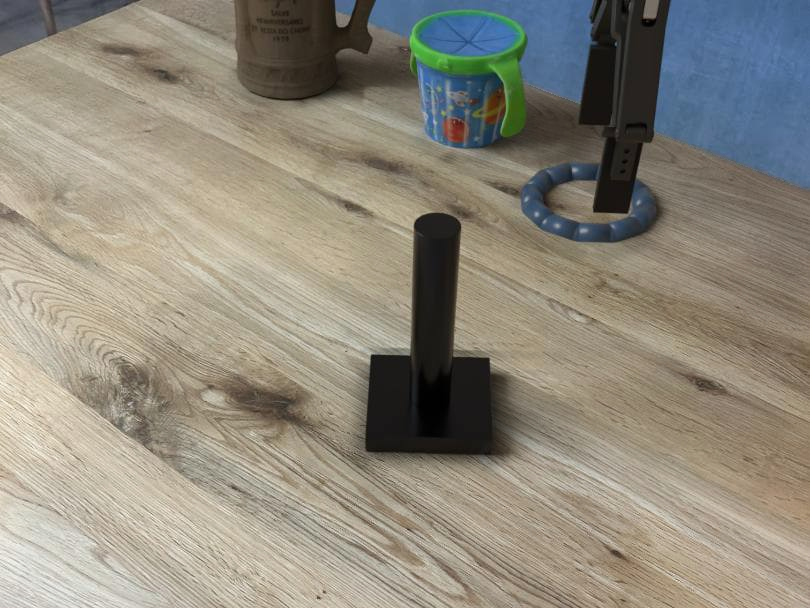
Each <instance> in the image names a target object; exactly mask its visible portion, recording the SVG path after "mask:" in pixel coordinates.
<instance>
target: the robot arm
mask: <svg viewBox="0 0 810 608" xmlns="http://www.w3.org/2000/svg"><path fill="white" fill-rule="evenodd" d="M671 3H672V0H593V3H592V6H591V10H590V12H589V15H588V17H589V18H588V19H589V21H590V24H592V26H591V29H590V32H589V36H590V41H591V42H595V44H589V49H588V53H587V62H586V67H585V74H584V79H583V85H582V86H583V87H582V92H581V99H580V104H579V110H578V117H577V123H578V125H579V126H602V128H601V129H600V137H601V138H604V143H603V149H602V154H601V159H600V163H601V164H600V169H599V175H598V180H597V181H596V186H595V192H594V195H593V196H594V198H593V203H592V212H593V213H594V214H616V215H617V214H619V215H629V211H630V208H631V204H632V202H631V198H632V194H633V189H634V184H635V180H636V178H637V174H638V171H639V166H640V161H641V156H642V152H643V146H644V144H651V143H652V142H653V140H654V137H655V122H656V113H657V106H658V105H657V104H658V96H659V89H660V81H661V71H662V64H663V63H662V62H663V55H664V46H665V39H666V38H665V37H666V29H667V23H668V17H669V13H670V12H669V11H670V8H671V7H670V6H671Z"/></svg>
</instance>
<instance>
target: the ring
mask: <svg viewBox="0 0 810 608" xmlns="http://www.w3.org/2000/svg"><path fill="white" fill-rule="evenodd" d="M600 164H601V162H576V161H575V162H573V161H572V162H571V161H570V162H569V161H568V162H564V163H560V164H556V165H553V166H550V167H546V168H543V169H539V170H538V171H537V172H536V173H535V174H534V175H533V176H532V177H531V178H530V179H529V180H528V181H527V182H526V183H525V184H524V185H523V186H522V187H521V189H520V191H519V195H520V197H519V198H520V206H521V212H522V214H523V215H524V216H525V217H526V218H527V219H529V220H530V221H531V222H532V223H533V224H534V225H535V226H537V228H539V229H540V230H541V231H543V232H545V233H549V234H551V235H555V236H557V237H560V238H563V239H567V240H568V241H572V242H576V243H577V242H578V243H609V244H610V243H616V242H619V241H622V240H626V239H629V238H631V237H635V236H637V235H641V234H644V232H646V230H647V229H648V227H649V226H650V225H651V224H652V223H653V222H654V220H655V219H656V217H657V215H658V210H657V206H656V203H655V202H656V201H655V197H654V193H653V191H652V189H651V188H650V187H649V186H648V185H646V184H645V183H644V182H642V181H641V180H640V179H639V178H637V177H636V180H635V184H634V189H633V194H632V198H631V206H632V211H631V212H630V213H629V214H628V216H627V217H623V218H620V219H617V220H614V221H610V222H604V223H603V222H581V221H580V222H579V221H577V220H573V219H571V218H568V217H564V216H561V215H559V214H556V213H555V212H554V211H552V209H550V208H549V206H547V205H546V204H545V203H544V195H545V194H547V192H549V190H550V189H551V188H552V187H553V186H556V185H561V184H563V183H567V182H570V181H590V182H591V181H593V182H594V181H595V182H597V180H598V175H599V169H600Z"/></svg>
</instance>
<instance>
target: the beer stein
mask: <svg viewBox="0 0 810 608" xmlns="http://www.w3.org/2000/svg"><path fill="white" fill-rule="evenodd" d="M376 1H377V0H355V3H354V7H353V9H352V12H351V14H350V18H349V21H348V23H347V25H345V26H338V24H337V12H336V0H233V7H234V19H235V39H234V49H235V52H236V57H237V58H236V59H237V60H236V77H237V80H238V81H239V83H240V84H241V86H242V87H244V88H245V89H246V90H247V91H249V92H252V93H254V94H257V95H259V96H262V97H266V98H273V99H281V100H290V99H301V98H307V97H311V96H314V95H315V96H316V95H319V94H321V93H323V92H325V91H327V90H328V89H330V88H331V87H332V86H333V85H334V84H335V83H336V81H337V79H338V77H339V66H338V61H337V58H336V56H337V55H338V53H339V52H340V51H343V50H351V49H352V50H354V51H356V52H358V53H361V54H363V55H366V56H367V55H368V54H369V52H370V49H371V47H372V44H373V40H374V39H373V37H372V35H371V33H370V31H369V29H368V25H369V24H368V23H369V19H370V16H371V13H372V11H373V8H374V6H375V4H376V3H377V2H376Z"/></svg>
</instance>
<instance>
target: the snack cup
mask: <svg viewBox="0 0 810 608" xmlns="http://www.w3.org/2000/svg"><path fill="white" fill-rule="evenodd" d="M528 42H529V38H528V35H527V33H526V31H525V29H524V28H523V27H522V25H521V24H519V23H518V22H517V21H515V20H513V19H512V18H509V17H507V16H504V15H502V14H498V13H495V12H490V11H485V10H476V9H456V10H447V11H441V12H438V13H433V14H432V15H429V16H426V17H425V18H422V19H421V20H419V21H418V22H417V23H416V24H415V25H414V26H413V28H412V30H411V35H410V36H409V48H410V50H411V53H410V59H409V66H410V71H411V74H413V75H414V76H415V77H417V80H418V86H419V87H418V88H419V94H420V95H419V96H420V103H421V111H422V118H423V126H424V131H425V133H426V135H427V137H429V138H430V139H431V140H433V141H434V142H436V143H437V144H440V145H442V146H445V147H449V148H455V149H476V148H482V147H487V146H489V145H492V144H493V143H495V142H496V141H498V140H499V139H500V138H501V137H503V138H510V137H512V136H515V135H517V134H518V133H520V132H521V131H522V130H523V128H524V126H525V124H526V121H527V111H526V110H527V109H526V108H527V107H526V99H525V89H524V88H525V87H524V81H523V74H522V70H521V66H520V64H519V63H521V61H522V59H523V57H524V55H525V51H526V48H527V47H528Z"/></svg>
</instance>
